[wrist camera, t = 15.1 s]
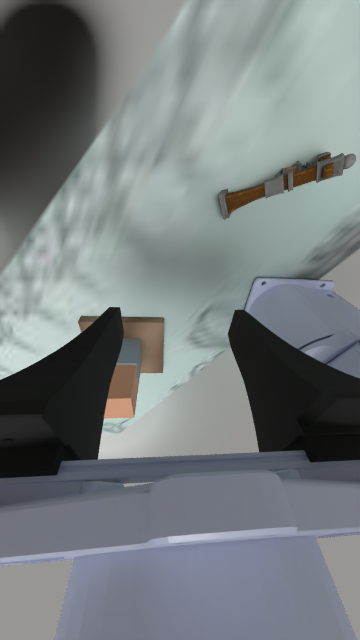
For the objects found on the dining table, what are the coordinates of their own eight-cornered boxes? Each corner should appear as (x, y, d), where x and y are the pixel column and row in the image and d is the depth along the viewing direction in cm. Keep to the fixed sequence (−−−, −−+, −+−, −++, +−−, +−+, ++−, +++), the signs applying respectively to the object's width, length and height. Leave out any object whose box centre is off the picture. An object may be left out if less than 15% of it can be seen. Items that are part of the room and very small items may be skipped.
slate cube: (140, 338, 24) (136, 363, 21) (141, 358, 27) (138, 383, 23) (108, 338, 24) (99, 363, 21) (113, 358, 26) (105, 383, 23)
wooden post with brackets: (340, 166, 14) (357, 179, 11) (232, 204, 18) (223, 221, 15) (343, 134, 13) (363, 140, 10) (227, 182, 17) (217, 196, 14)
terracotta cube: (136, 365, 21) (130, 398, 18) (138, 385, 24) (134, 417, 21) (99, 364, 21) (87, 398, 18) (105, 385, 23) (96, 418, 20)
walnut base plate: (163, 317, 24) (163, 322, 23) (162, 367, 30) (162, 372, 29) (80, 316, 23) (77, 321, 22) (97, 367, 29) (96, 373, 28)
